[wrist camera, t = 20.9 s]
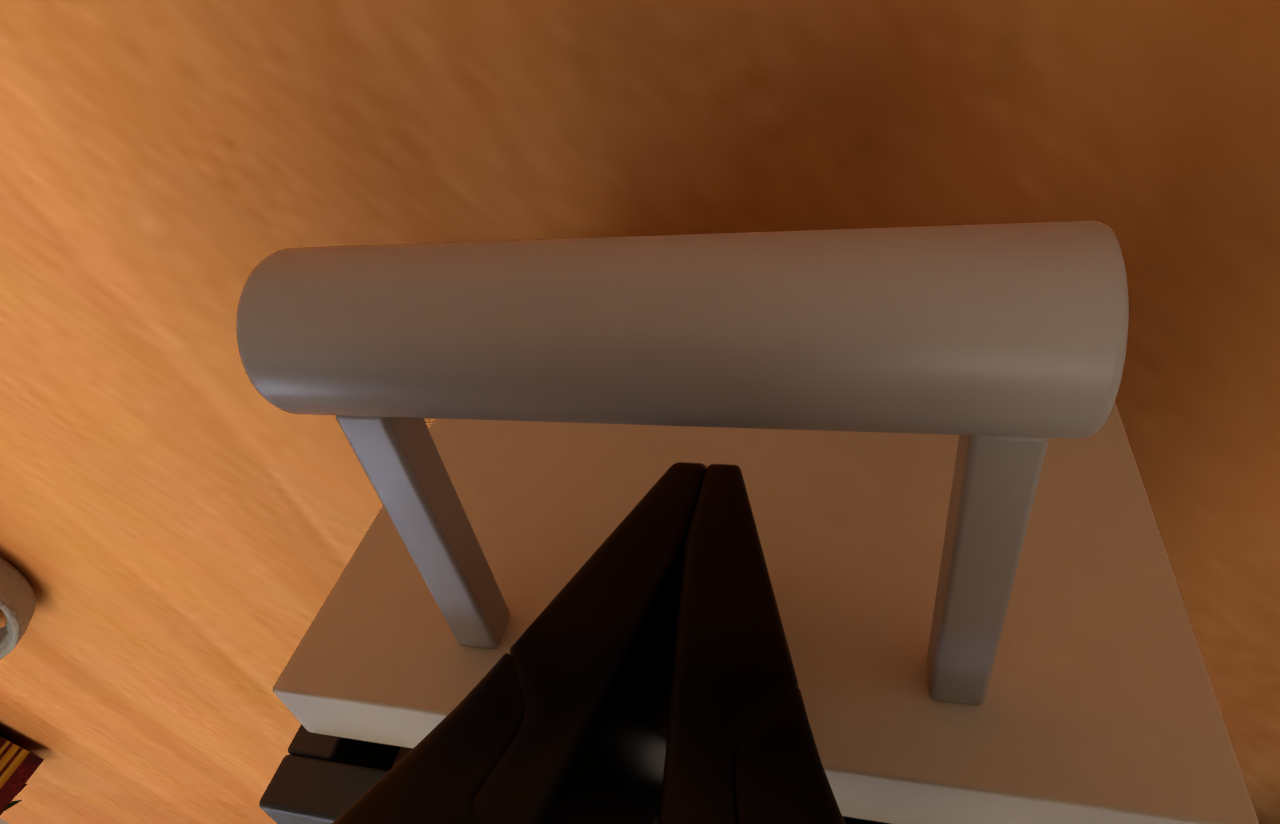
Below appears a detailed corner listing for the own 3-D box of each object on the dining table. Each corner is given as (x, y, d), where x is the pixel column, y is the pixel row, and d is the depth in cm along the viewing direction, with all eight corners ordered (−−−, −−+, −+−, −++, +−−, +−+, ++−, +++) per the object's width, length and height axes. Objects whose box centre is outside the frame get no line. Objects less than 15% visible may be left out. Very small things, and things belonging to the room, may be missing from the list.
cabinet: (475, 408, 17) (254, 805, 11) (1115, 426, 14) (1306, 1005, 8) (599, 731, 27) (517, 1044, 21) (1000, 788, 23) (1046, 1181, 17)
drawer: (344, 70, 12) (-38, 341, 7) (1230, -21, 9) (1690, 346, 4) (593, 717, 24) (522, 977, 19) (995, 771, 21) (1032, 1097, 16)
